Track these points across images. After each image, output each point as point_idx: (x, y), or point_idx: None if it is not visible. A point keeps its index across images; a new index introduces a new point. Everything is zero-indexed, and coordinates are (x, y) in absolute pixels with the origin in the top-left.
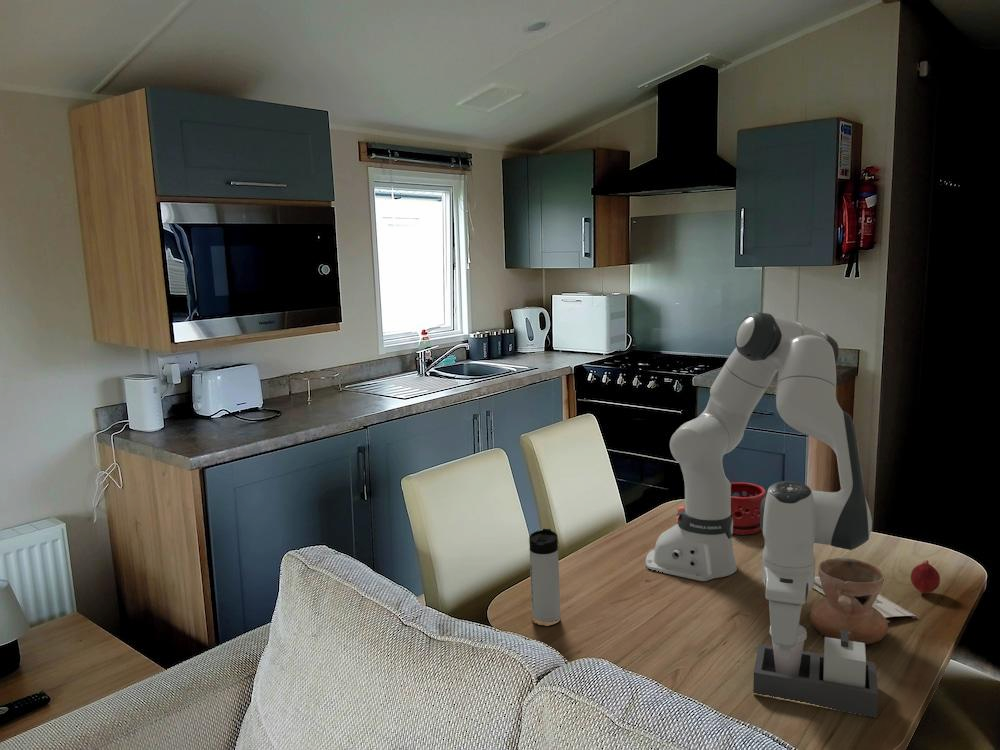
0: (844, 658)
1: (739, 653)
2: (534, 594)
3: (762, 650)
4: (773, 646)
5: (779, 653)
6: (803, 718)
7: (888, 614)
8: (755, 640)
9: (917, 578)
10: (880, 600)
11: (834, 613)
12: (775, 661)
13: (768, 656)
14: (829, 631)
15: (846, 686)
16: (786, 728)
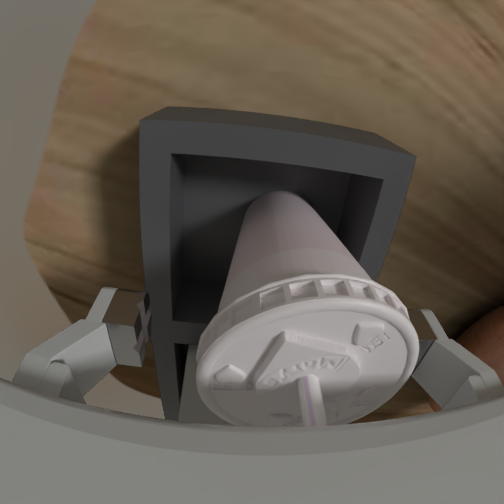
0: None
1: (439, 81)
2: None
3: (360, 165)
4: (278, 246)
5: (95, 300)
6: (102, 250)
7: None
8: (501, 150)
9: None
10: None
11: (498, 375)
12: (268, 216)
13: (366, 180)
14: (470, 345)
15: (170, 388)
16: (45, 210)
